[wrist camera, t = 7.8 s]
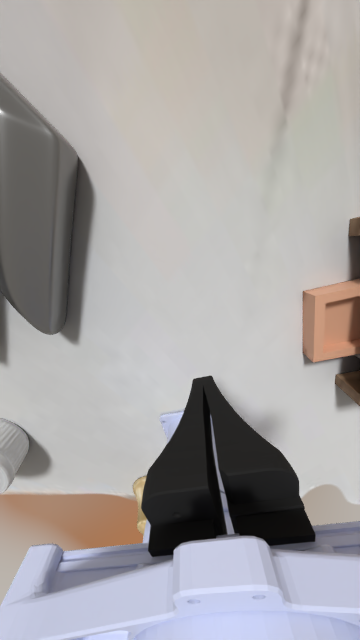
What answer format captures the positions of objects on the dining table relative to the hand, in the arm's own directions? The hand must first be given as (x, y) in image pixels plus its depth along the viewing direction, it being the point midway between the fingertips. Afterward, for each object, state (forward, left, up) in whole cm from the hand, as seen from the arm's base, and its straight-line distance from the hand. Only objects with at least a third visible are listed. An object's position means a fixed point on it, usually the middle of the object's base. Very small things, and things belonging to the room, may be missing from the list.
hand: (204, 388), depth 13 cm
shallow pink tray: (-2, -18, -9) cm, 21 cm away
